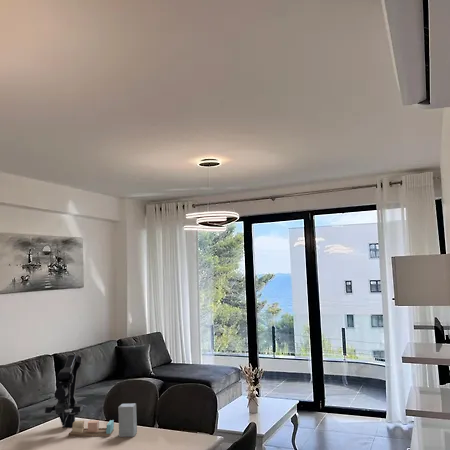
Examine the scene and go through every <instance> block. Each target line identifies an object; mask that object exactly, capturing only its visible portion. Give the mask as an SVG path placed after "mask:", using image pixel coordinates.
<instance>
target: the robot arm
mask: <svg viewBox="0 0 450 450" xmlns="http://www.w3.org/2000/svg"><path fill="white" fill-rule="evenodd" d="M83 364H84V359H83V357H82V356H79V355H77V354H68V355H67V358H66V362H65V365H64V367H63V368H62V369H60V370H59V372H58V373H57V376H56V380H55V387H58V388H57V389H56V390H55V391H54V393H53V394H54V395H53V396H54V399H57V402H56V404H50V405H47V406H46V407H45V408H44V413H45V414H50V413H52V412H53V411H54V412H55V415H57V416H58V417H59V419H60V420H59V421H60V422H61V426H62V428H73V422H74V421H76V416H78V415H80V414H79V413H81V412H82V411H83V409H84V407H83V404H78V402H77V400H76V390H77V384H78V383H77V382H78V376H79V375H78V373H79V371H80V370H81V369H82V365H83Z"/></svg>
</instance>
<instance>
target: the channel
mask: <svg viewBox="0 0 450 450" xmlns="http://www.w3.org/2000/svg"><path fill="white" fill-rule="evenodd" d="M106 429H107V427H99V430H98V432H88V427H87V428H85V427H84V431H83V432H72V430H71V431H70V432H68V435H67V437H68V438H79V437H80V438H81V437H83V438H84V437H87V438H88V437H91V438H92V437H111V436H112V434H113V432H114V430H115V429H113V430H112V432H111V433H110V434H106Z"/></svg>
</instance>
